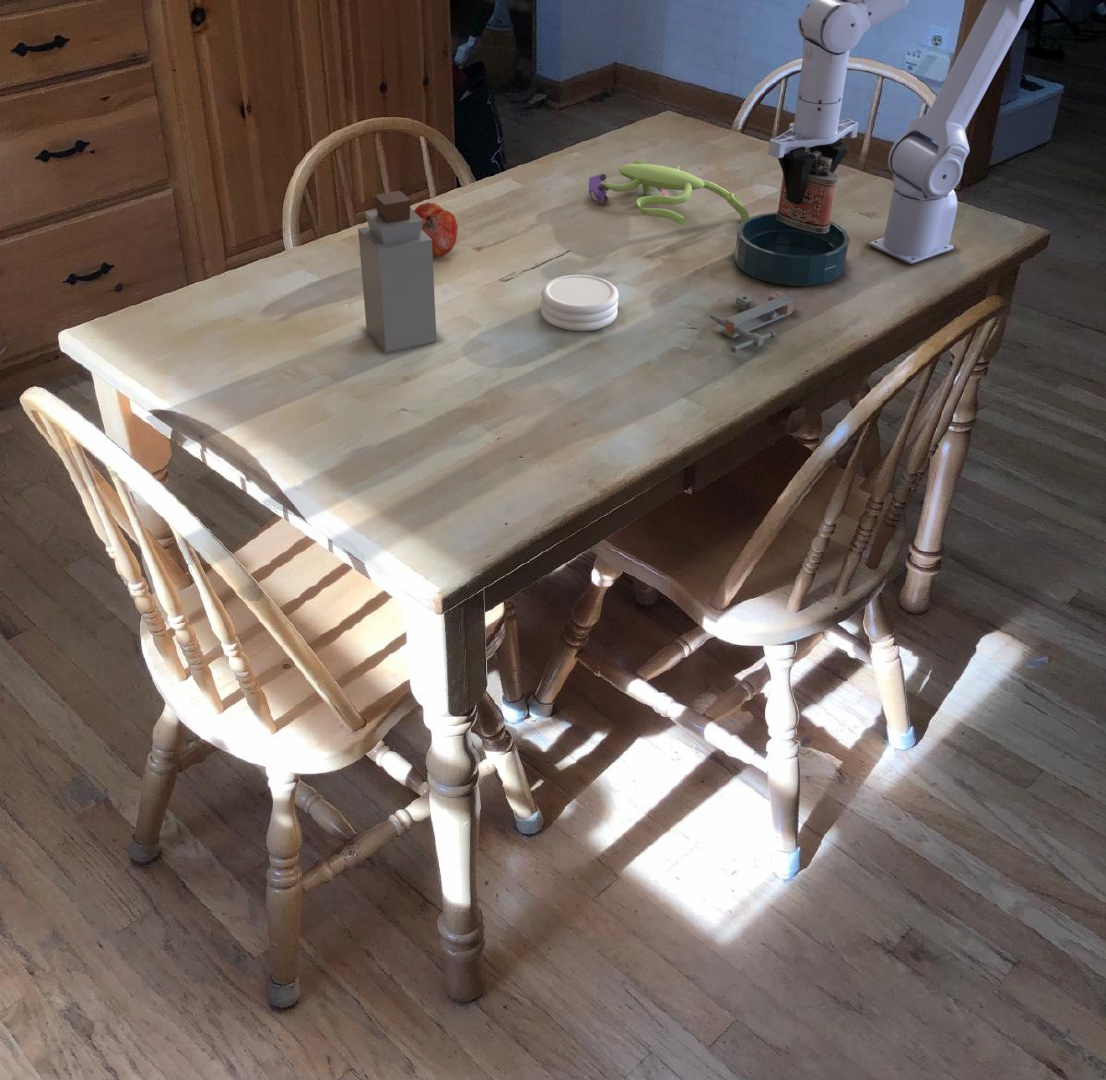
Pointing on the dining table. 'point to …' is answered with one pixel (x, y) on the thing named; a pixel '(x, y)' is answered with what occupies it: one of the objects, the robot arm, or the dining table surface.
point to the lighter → (811, 198)
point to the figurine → (660, 188)
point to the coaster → (579, 302)
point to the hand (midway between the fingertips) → (805, 198)
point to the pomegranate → (438, 227)
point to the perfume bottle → (397, 275)
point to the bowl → (789, 252)
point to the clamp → (768, 311)
